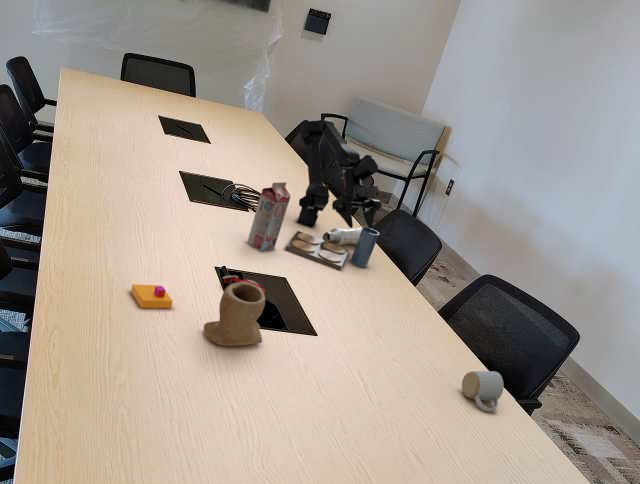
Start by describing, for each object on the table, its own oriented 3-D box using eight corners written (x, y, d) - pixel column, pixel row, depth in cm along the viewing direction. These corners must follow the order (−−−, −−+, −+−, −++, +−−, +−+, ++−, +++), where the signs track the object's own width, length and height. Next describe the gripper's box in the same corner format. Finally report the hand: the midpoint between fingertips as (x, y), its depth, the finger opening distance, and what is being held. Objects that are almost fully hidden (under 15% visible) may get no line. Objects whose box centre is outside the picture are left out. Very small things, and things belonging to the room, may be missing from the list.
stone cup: (217, 354, 157) (233, 298, 149) (197, 327, 165) (211, 273, 157) (271, 352, 165) (289, 299, 157) (249, 327, 173) (266, 275, 165)
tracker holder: (257, 281, 196) (274, 290, 188) (251, 295, 197) (268, 305, 189) (222, 269, 189) (239, 278, 181) (217, 284, 190) (233, 293, 182)
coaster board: (285, 249, 228) (286, 244, 227) (296, 234, 245) (298, 229, 244) (340, 270, 226) (342, 265, 226) (348, 253, 244) (349, 248, 243)
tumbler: (349, 263, 235) (361, 230, 228) (351, 258, 240) (363, 225, 233) (365, 269, 234) (378, 236, 228) (367, 264, 239) (379, 231, 233)
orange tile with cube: (140, 307, 165) (144, 292, 163) (130, 292, 170) (133, 277, 168) (170, 308, 169) (174, 293, 167) (159, 293, 175) (163, 278, 172)
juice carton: (273, 249, 225) (293, 186, 214) (261, 251, 221) (280, 186, 209) (260, 240, 228) (278, 178, 217) (247, 242, 224) (265, 178, 212)
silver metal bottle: (369, 243, 252) (334, 244, 239) (355, 246, 257) (320, 247, 244) (368, 226, 251) (332, 226, 238) (354, 229, 256) (318, 229, 243)
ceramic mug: (455, 387, 177) (468, 363, 173) (480, 389, 180) (493, 366, 176) (476, 412, 169) (490, 387, 165) (501, 414, 172) (516, 390, 168)
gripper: (348, 173, 224) (357, 217, 222) (388, 178, 235) (396, 221, 233) (327, 186, 233) (335, 230, 232) (366, 191, 244) (374, 232, 242)
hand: (361, 228), depth 234 cm, fingers open, 9 cm apart
